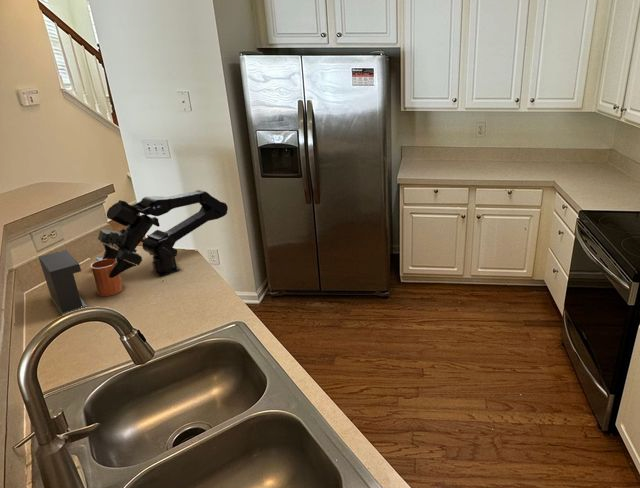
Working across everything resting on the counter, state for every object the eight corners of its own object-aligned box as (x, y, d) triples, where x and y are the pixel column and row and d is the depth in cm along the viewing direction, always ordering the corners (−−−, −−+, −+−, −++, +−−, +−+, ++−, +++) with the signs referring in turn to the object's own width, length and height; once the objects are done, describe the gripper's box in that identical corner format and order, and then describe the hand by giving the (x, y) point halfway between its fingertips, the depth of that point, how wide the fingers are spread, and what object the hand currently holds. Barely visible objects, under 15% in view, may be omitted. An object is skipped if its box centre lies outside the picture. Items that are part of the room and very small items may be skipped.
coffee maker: (78, 291, 140) (66, 249, 135) (91, 307, 132) (79, 263, 126) (51, 299, 135) (38, 256, 130) (63, 316, 127) (49, 272, 121)
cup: (118, 283, 145) (111, 256, 142) (125, 290, 141) (119, 263, 137) (95, 290, 140) (87, 263, 137) (101, 298, 136) (94, 270, 133)
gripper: (103, 212, 142) (71, 253, 138) (122, 228, 130) (88, 272, 127) (134, 228, 150) (105, 266, 146) (155, 243, 139) (124, 286, 135)
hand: (105, 272), depth 138 cm, fingers open, 9 cm apart
